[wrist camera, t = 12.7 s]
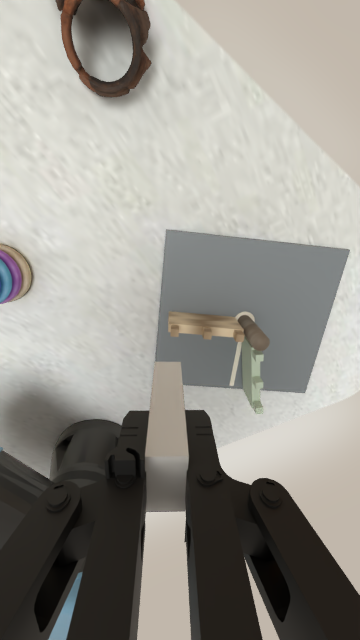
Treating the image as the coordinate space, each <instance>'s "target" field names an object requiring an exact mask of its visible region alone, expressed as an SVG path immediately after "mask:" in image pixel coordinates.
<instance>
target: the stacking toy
mask: <svg viewBox="0 0 360 640" xmlns="http://www.w3.org/2000/svg"><path fill="white" fill-rule="evenodd" d="M30 284H31V271H30V268H29V266H28V263H27V262H26V260H25V259H24V258H23V257H22V255H21V254H19V253H18V252H17V251H16V250H14V249H12V248H10V247H8V246H5V245H2V244H0V304H3V303H6V302H11V301H15V300H17V299H19V298H21V297H22V296H24V295H25V293H26V292H27V291H28V289H29V287H30Z"/></svg>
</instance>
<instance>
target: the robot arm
mask: <svg viewBox="0 0 360 640" xmlns="http://www.w3.org/2000/svg"><path fill="white" fill-rule="evenodd" d="M185 510H186V528H185V542H186V547H187V566H188V586H189V605H190V624H191V640H262V635H261V631H260V626H259V622H258V617H257V613H256V608H255V604H254V599H253V595H252V590H251V586H250V581H249V577H248V573H247V568H246V563H245V560H246V562H247V564H248V567H249V569H250V571H251V573H252V576H253V578H254V581H255V583H256V585H257V588H258V590H259V592H260V594H261V597H262V599H263V602H264V604H265V606H266V609H267V611H268V613H269V616H270V618H271V620H272V623H273V625H274V627H275V630H276V632H277V634H278V637H279V639H280V640H360V595H359V594H358V593H357V591H356V590H355V588H354V587H353V585H352V584H351V582H350V581H349V580H348V578H347V577H346V575H345V574H344V572H343V571H342V569H341V568H340V567H339V565H338V564H337V562H336V561H335V559H334V558H333V556H332V555H331V553H330V552H329V551H328V549H327V548H326V546H325V545H324V543H323V542H322V540H321V539H320V538H319V536H318V535H317V533H316V532H315V530H314V529H313V527H312V526H311V525H310V523H309V522H308V520H307V519H306V517H305V516H304V515H303V513H302V512H301V510H300V509H299V507H298V506H297V504H296V503H295V502H294V500H293V499H292V497H291V496H290V494H289V493H288V491H287V490H286V489H285V488H284V487H283V486H282V485H281V484H279V483H278V482H276V481H274V480H271V479H268V478H259V479H257V480H255V481H254V482H253V483H252V485H249V484H246V483H242V482H239V481H237V480H234V479H232V478H231V477H229V476H228V475H227V474H226V473H225V472H224V471H223V469H222V468H221V466H220V463H219V458H218V454H217V449H216V444H215V439H214V436H213V430H212V425H211V421H210V417H209V416H208V415H207V413H206V412H205V411H204V410H185V406H184V394H183V383H182V371H181V362H155V364H154V373H153V383H152V393H151V402H150V411H129V412H128V414H127V415H126V416H125V417H124V419H123V423H122V426H120V425H118V424H115V423H113V422H109V421H104V420H87V421H82V422H79V423H76V424H74V425H72V426H70V427H69V428H67V429H66V430H65V431H64V432H63V433H62V434H61V436H60V437H59V439H58V441H57V443H56V445H55V447H54V450H53V453H52V459H51V469H50V478H49V479H48V478H46V477H45V476H43V475H41V474H40V473H38V472H36V471H35V470H33V469H31V468H30V467H28V466H27V465H25V464H23V463H22V462H20V461H19V460H17V459H15V458H14V457H12V456H11V455H9V454H8V453H6V452H4V451H3V448H2V447H0V640H137V630H138V617H139V605H140V590H141V577H142V565H143V551H144V538H145V514H146V512H169V511H171V512H172V511H185ZM244 557H245V559H244Z"/></svg>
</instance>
